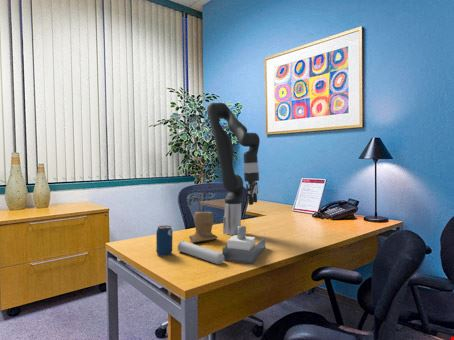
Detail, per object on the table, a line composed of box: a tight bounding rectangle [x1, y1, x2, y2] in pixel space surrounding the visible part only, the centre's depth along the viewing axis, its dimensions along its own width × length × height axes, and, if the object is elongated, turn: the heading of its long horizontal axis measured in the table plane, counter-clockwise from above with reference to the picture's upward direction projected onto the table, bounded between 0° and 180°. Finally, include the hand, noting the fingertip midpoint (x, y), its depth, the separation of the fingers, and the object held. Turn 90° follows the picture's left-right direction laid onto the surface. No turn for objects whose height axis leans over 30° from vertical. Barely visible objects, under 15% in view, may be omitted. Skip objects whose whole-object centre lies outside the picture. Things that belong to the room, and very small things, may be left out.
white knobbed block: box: [226, 225, 256, 251], centre depth 131 cm, size 10×9×12 cm
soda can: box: [155, 225, 174, 257], centre depth 135 cm, size 7×7×12 cm
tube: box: [177, 239, 225, 265], centre depth 131 cm, size 5×5×25 cm
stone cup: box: [188, 211, 219, 243], centre depth 158 cm, size 15×12×15 cm
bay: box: [221, 237, 266, 265], centre depth 137 cm, size 13×24×5 cm, turn 161°
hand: (253, 203), depth 157 cm, fingers open, 8 cm apart
